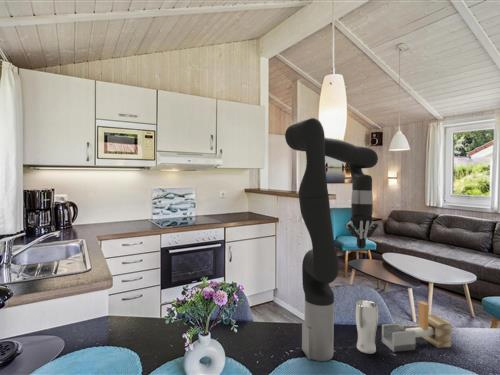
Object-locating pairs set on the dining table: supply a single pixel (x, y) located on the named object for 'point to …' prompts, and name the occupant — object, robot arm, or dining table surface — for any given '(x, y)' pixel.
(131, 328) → the dining table surface
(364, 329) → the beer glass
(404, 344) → the gray u-shaped block
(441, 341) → the socket
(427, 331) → the hammer
